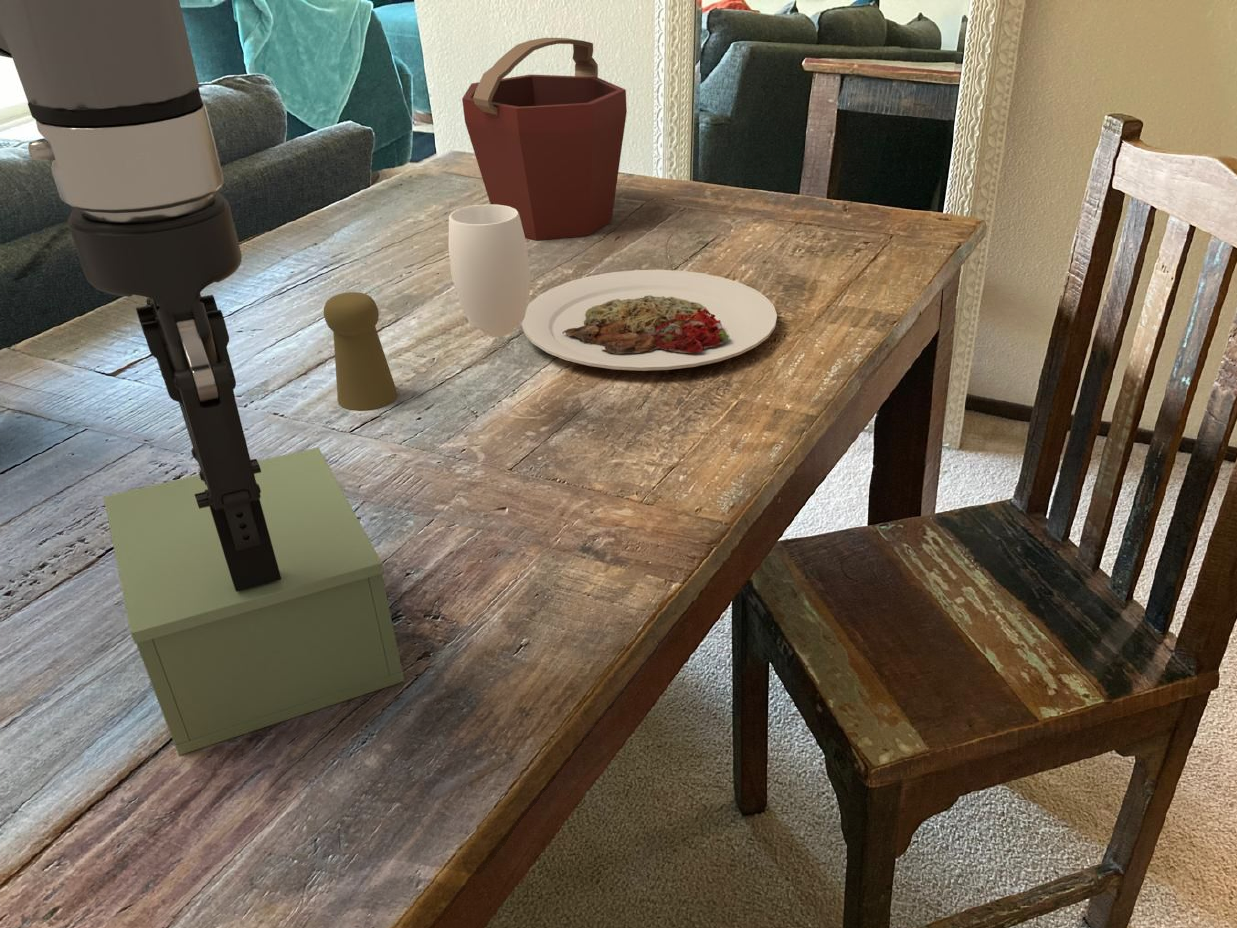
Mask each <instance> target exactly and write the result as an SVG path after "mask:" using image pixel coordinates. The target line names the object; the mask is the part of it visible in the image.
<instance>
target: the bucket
mask: <svg viewBox="0 0 1237 928" xmlns="http://www.w3.org/2000/svg"><path fill="white" fill-rule="evenodd" d="M554 45H572V50H573V53H572V61H574V63H575V64H574V75H557V74H556V75H553V74H525V75H517V76H511V77H506V76H508V75H509V74H510V73H511V72H512V71H513V70H514V69H515V68H516V66H518V65H519V64H521V62H522V61H524V59H526V58H527V57H528V56H529V55H531V54H532V53H533V52H535V51H537V50H539V49H543V48H545V47H549V46H554ZM593 54H594V43H593V42H590V41H585V40H581V39H574V38H567V37H541V38H536V39H529V40H527V41H524V42H521V43H518V44H516V45H514V46H513V47H512V48H511V49H509V50H508V51H507V52H506V53H504V54H503V55H502V56H501V57H500V58H499V59H498V60H497V61H496V62H495V63H494V64H493V66H491V67H490V68H489V69H488V70H486V71H485V72H484V73H483V74H482V76H481V78H480V80H479V82H473V83H472V82H471V84H470V85H469V87H468V88H467V90H466V92H465V93H464V94H463V97H462V98H461V100H462V109H463V118H464V123H465V126H466V130H467V133H468V136H469V140H470V143H471V146H472V149H473V153H474V155H475V159H476V163H477V165H478V169H479V172H480V175H481V178H482V181H483V185H484V188H485V191H486V194H487V198H488V201H489V204H492V205H503V206H509V207H512V208H514V209H516V210H517V212H518V213H519V216H520V220H521V224H522V227H523V231H524V235H525V239H529V240H533V241H545V240H547V241H548V240H557V239H568V238H569V239H570V238H580V237H581V238H582V237H589V236H591V235H592V234H593V233H595V232H597V231H599V230H600V229H601V228H604V227H605V226H607V225H608V224H610V223H611V222H612V221H613V213H614V206H615V198H616V191H617V185H618V178H619V172H620V171H619V170H620V162H621V157H622V156H621V155H622V150H623V142H624V136H625V135H624V134H625V128H626V121H627V113H628V108H627V106H628V105H627V90H626V89H625V88H623V87H621V86H618V85H616V84H614V83H611V82H609V81H607V80H605V79H602V78H600V77H599V64H598V63H597V62H596V59H594V57H593Z"/></svg>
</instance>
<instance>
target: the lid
mask: <svg viewBox="0 0 1237 928" xmlns="http://www.w3.org/2000/svg"><path fill="white" fill-rule="evenodd" d="M257 461H258V464H259V466H260V469H261V473H256V474H254V476H255V480H256V483H257V484H259V487H260V490H261V493H260V496H261V497H260V503H261V506H262V510H263V514H264V517H265V521H266V525H267V528H268V532H269V536H270V539H271V543H272V546H273V550H274V554H275V557H276V561H277V565H278V568H279V572H280V576H281V579H280V580H277V581H273V582H269V583H266V584H262V585H259V586H255V587H251V588H248V589H244V590H241V591H237V592H236V590H235V587H234V584H233V582H232V579H231V575H230V572H229V569H228V565H227V562H226V559H225V556H224V552H223V549H222V546H221V543H220V539H219V536H218V533H217V529H216V526H215V523H214V520H213V516H212V513H211V510H210V507H205V508H201V509H199V507H198V504H197V501H196V498H195V494H197V493H201V492H205V490H208V488H207V485H205V482H204V481H203V480H201V478H200V475H199V474H197V475H192V476H188V477H183V478H179V479H174V480H170V481H166V482H162V483H161V482H160V483H157V484H153V485H148V486H144V487H140V488H136V489H131V490H127V491H123V492H118V493H114V494H110V495H106V496H103V501H104V506H105V511H106V512H105V513H106V517H107V521H108V527H109V531H110V532H109V533H110V536H111V541H112V546H113V551H114V556H115V561H116V566H117V571H118V576H119V581H120V582H119V583H120V586H121V591H122V597H123V601H124V605H125V611H126V616H127V621H128V626H129V630H130V631H129V632H130V635H131V637H132V640H133V643H134V644H136V645H137V643H140V642H144V641H147V640H151V639H154V638H158V637H161V636H165V635H168V634H172V633H175V632H179V631H182V630H186V629H189V628H193V627H196V626H200V625H203V624H207V623H210V622H214V621H217V620H221V619H224V618H228V617H231V616H235V615H238V614H242V613H245V612H249V611H252V610H256V609H260V608H263V607H267V606H270V605H274V604H277V603H281V602H284V601H288V600H291V599H295V598H298V597H302V596H305V595H309V594H312V593H316V592H319V591H323V590H326V589H330V588H333V587H337V586H340V585H344V584H347V583H351V582H354V581H358V580H361V579H365V578H368V577H372V576H375V575H379V574H382V575H383V574H384V573H385V571H384V570H385V569H384V566H383V562H382V560H381V558H380V557H379V555H378V553H377V551H376V549H375V548H374V545H373V544H372V542H371V540H370V537H368V535H367V532H366V531H365V528H363V526H362V524H361V522H360V521H359V519H358V517H357V515H356V513H355V511H354V509H353V507H352V505H351V504H350V502H349V500H348V498H347V496H346V495H345V493H344V491H343V489H342V488H341V485H340V484H339V482H338V480H337V478H336V476H335V474H334V473H333V471H332V469H331V467H330V465H329V463H328V462H327V460H326V458H325V456H324V455H323V453H322V451H321V449H320V447H313V448H308V449H305V450H301V451H296V452H291V453H288V454H283V455H279V456H274V457H269V458H265V459H261V460H257Z"/></svg>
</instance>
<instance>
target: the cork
mask: <svg viewBox="0 0 1237 928" xmlns="http://www.w3.org/2000/svg"><path fill="white" fill-rule="evenodd" d="M379 316H380V312H379V308H378V305H377V303H376V301H375V300H374V299H373V297H371V296H370V295H369V294H366V293H364V292H358V291H351V292H343V293H339V294H335V295H333V296H331V297H330V298H329V299H327V300H326V302H325V304H324V307H323V318H324V320H325V323H326V325H327V327H328V329H330V330H331V331H332V334H333V349H334V364H335V365H334V366H335V378H336V379H335V380H336V395H337V402H338V405H339V406H341V407H342V408H344V409H347V410H350V411H351V410H352V411H370V410H377V409H380V408H382V407H383V408H384V407H386V406H387V405H390V404H392V403H393V402H394V401H395V400H396V399H397V398H398V394H399V393H398V390H397V388H396V385H395V381H394V378H393V375H392V373H391V370H390V366H389V363H388V361H387V357H386V355H385V351H384V348H383V345H382V342H381V339H380V336H379V333H378V330H377V327H376V326H377V324H378V322H379Z"/></svg>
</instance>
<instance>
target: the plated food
mask: <svg viewBox="0 0 1237 928" xmlns="http://www.w3.org/2000/svg"><path fill="white" fill-rule="evenodd" d="M777 320H778V313H777V311H776V308H775V305H774V304H773V303H772V302H771V301H770V300H769V298H768V297H767V296H765V295H764V294H763V293H761V292H760V291H758V290H757V289H755V288H753V287H750V286H748V285H746V284H744V283H741V282H739V281H735V280H733V279H729V278H726V277H723V276H718V275H712V274H707V273H703V272H696V271H687V270H673V269H672V270H671V269H633V270H623V271H621V270H620V271H612V272H606V273H600V274H595V275H589V276H586V277H581V278H578V279H577V278H576V279H573V280H571V281H568V282H565V283H562V284H559V285H557V286H554V287H552V288H550V289H548V290H546V291H543V293H541V294H539V295H538V296H536V297H535V298H534V299H533V300H531V301H530V302H528V305H527V309H526V314H525V318H524V320H523V322H522V323H520V325H521V328H522V330H523V334H524V336H525V337H526V338H527V339H528V340H529V341H530V342H531V343H532V344H533V345H534V346H535V347H537V348H538V349H540V350H542V351H543V352H544V353H547V354H549V355H552V356H554V357H557V358H559V359H562V360H563V361H564V360H565V361H568V362H572V363H576V364H579V365H584V366H589V367H595V368H601V369H607V370H609V369H610V370H619V371H621V370H623V371H639V372H640V371H644V372H645V371H669V370H670V371H671V370H677V369H686V368H695V367H701V366H705V365H710V364H715V363H719V362H722V361H725V360H729V359H731V358H734V357H738V356H740V355H742V354H744V353H746V352H749V351H751V350H752V349H754V348H757V347H758V346H759V345H760V344H762V343H763V342H764V341H766V340H767V339H769V337H770V336H771V334H772V333H773V331H774V330H775V329H776V326H777Z"/></svg>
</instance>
